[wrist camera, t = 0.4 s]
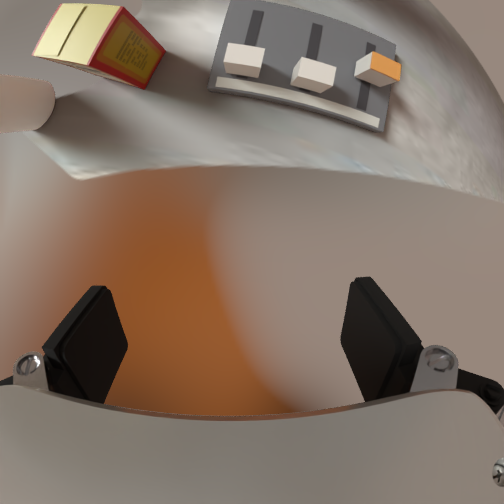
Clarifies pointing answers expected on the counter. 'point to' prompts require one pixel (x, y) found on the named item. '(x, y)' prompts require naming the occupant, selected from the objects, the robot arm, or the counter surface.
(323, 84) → the handle mid
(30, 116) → the alcohol
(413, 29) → the counter surface
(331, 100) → the panel
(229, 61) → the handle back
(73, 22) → the baking soda box
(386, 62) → the handle
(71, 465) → the robot arm
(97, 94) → the counter surface
